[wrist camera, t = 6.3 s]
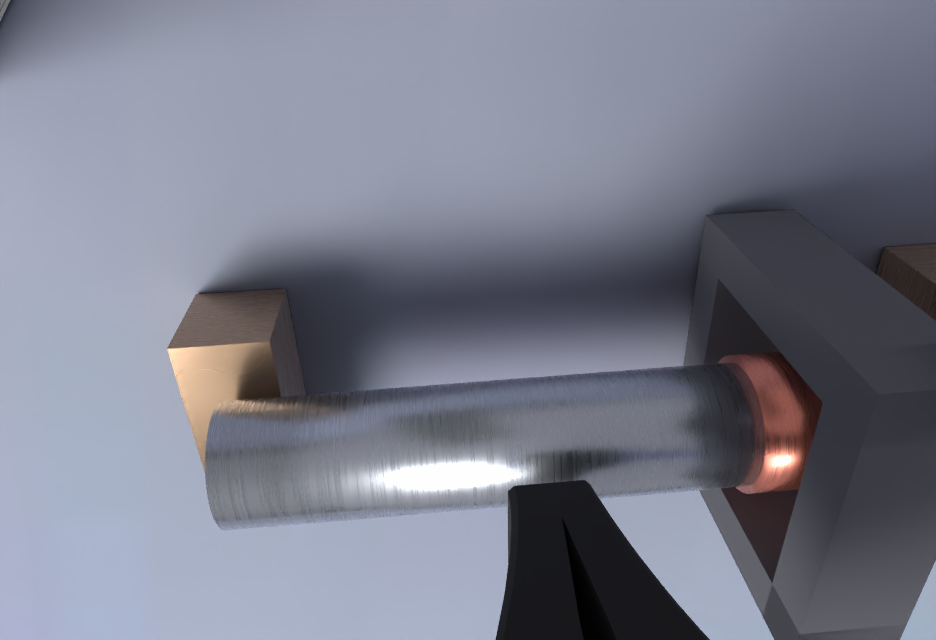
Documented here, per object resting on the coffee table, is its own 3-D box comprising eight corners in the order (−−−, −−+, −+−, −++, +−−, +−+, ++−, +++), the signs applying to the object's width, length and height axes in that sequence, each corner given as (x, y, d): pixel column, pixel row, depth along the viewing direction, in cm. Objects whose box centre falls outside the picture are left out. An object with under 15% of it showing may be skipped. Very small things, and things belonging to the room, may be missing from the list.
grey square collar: (794, 209, 16) (1015, 383, 10) (745, 431, 19) (891, 657, 13) (705, 215, 16) (879, 394, 10) (672, 437, 19) (789, 667, 13)
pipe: (965, 241, 17) (1155, 356, 12) (916, 378, 19) (1064, 516, 14) (195, 294, 16) (120, 436, 12) (233, 432, 18) (180, 595, 14)
